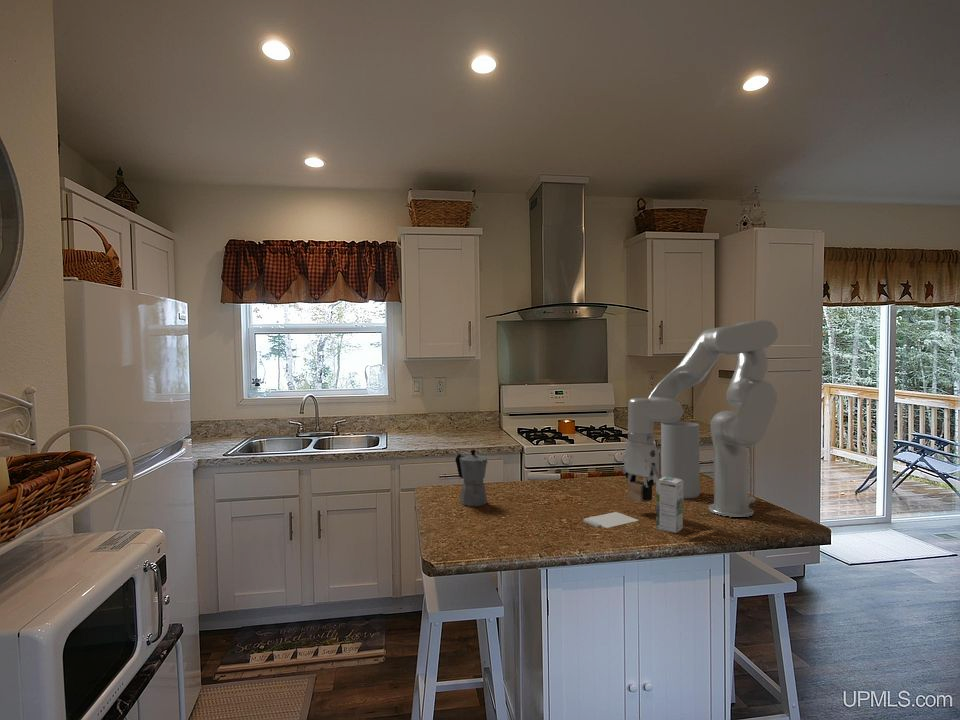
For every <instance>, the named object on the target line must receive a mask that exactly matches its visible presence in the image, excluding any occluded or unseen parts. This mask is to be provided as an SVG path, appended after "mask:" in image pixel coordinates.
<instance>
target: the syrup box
mask: <svg viewBox="0 0 960 720" xmlns="http://www.w3.org/2000/svg"><path fill="white" fill-rule="evenodd" d="M655 490H656V491H655V492H656V494H655V495H656V498H655V499H656V500H655V501H656V503H655V505H656V507H655V508H656V509H655V515H656V516H655V519H656V520H655V521H656V522H655V529H656V530H659V531H664V532H669V533H675V534H677V533H678V532H680V531H682V529H684V499H683V480H681V479H677V478H672V477H663V478H662V477H661V479H659V480H657V482H656V489H655Z"/></svg>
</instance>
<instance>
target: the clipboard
mask: <svg viewBox="0 0 960 720" xmlns="http://www.w3.org/2000/svg"><path fill="white" fill-rule="evenodd" d="M638 521H640V519H637V518H634V517H631V516H628V515H626V514H624V513H620V512H618V511H614V512H609V513H605V514H599V515H596V516H590V517H586V518H583V520H582V522H584V523H586V524H588V525H591V526H594V527H595V528H599V527H600V528H601V527H603V528H606V529H608V528H612V527H617V526H622V525H626V524H630V523H631V524H632V523H634V522H635V523H636V522H638Z"/></svg>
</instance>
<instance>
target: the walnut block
mask: <svg viewBox="0 0 960 720" xmlns="http://www.w3.org/2000/svg"><path fill="white" fill-rule="evenodd" d="M643 487H645V486H644V481H643V480H636V481H634V482H627V499H628V500H631V501H634V502H637V503H644V502H652V501H653V498H652V499H651V500H646V501H645V500H643Z"/></svg>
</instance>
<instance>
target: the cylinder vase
mask: <svg viewBox="0 0 960 720" xmlns="http://www.w3.org/2000/svg"><path fill="white" fill-rule="evenodd" d="M660 427H661V428H660V433H661V434H660V436H661V437H660V442H661V445H660V446H661V449H660V450H661V451H660V452H661V454H660V455H661V457H660V458H661V459H660V460H661V462H660V463H661V478H663V477H672V478H677V479H681V480H683V500H684V499H685V500H688V499H690V498H691V499H696V498H699V496H700V494H701V493H700V491H701V487H700V486H701V485H700V482H701V481H700V480H701V479H700V477H701V476H700V468H701V467H700V424H699V423H696V422H687V421H676V422H673V423H663V422H660ZM691 499H690V500H691Z"/></svg>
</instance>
